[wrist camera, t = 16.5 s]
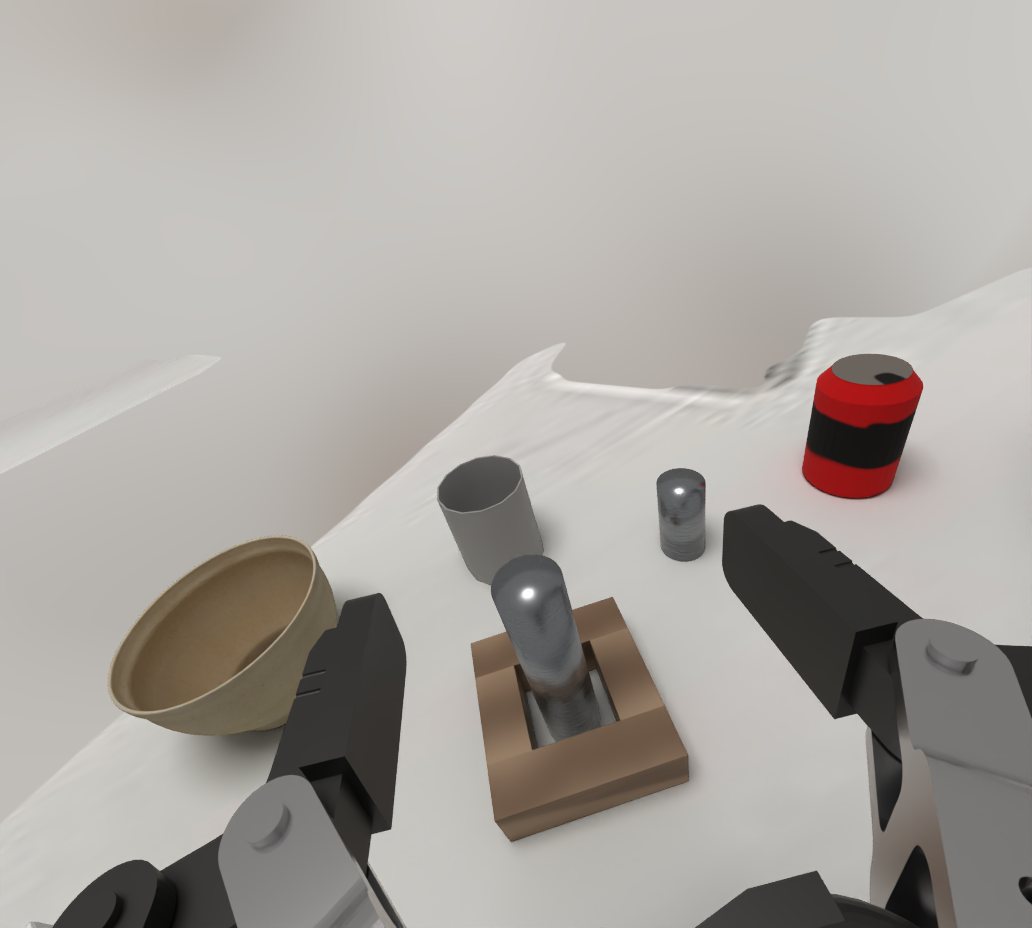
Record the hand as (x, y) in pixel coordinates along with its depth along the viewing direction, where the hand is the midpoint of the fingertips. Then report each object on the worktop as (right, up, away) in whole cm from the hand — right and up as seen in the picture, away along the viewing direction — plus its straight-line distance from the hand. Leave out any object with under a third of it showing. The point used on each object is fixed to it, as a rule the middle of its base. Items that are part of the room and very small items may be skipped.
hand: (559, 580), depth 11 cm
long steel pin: (+3, -16, +23) cm, 29 cm away
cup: (-2, -7, +39) cm, 39 cm away
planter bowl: (-22, -18, +32) cm, 43 cm away
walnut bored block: (+3, -16, +23) cm, 29 cm away
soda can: (+33, +1, +36) cm, 49 cm away
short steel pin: (+15, -5, +34) cm, 37 cm away
